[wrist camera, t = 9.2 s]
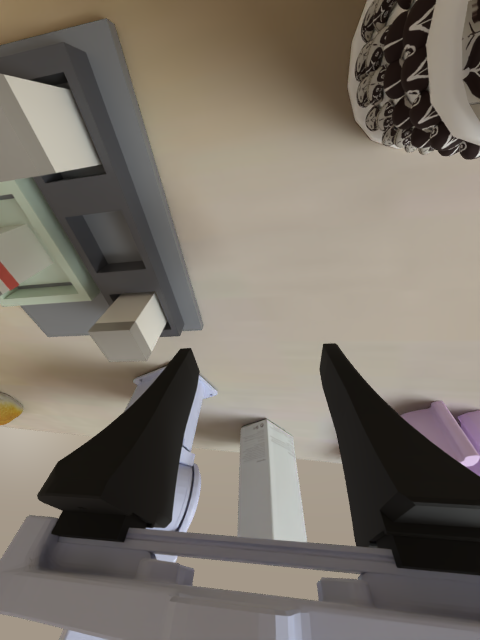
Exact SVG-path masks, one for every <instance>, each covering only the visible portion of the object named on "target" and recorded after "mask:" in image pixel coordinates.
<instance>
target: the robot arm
mask: <svg viewBox="0 0 480 640" xmlns="http://www.w3.org/2000/svg"><path fill="white" fill-rule="evenodd" d="M199 372H200V371H199V368H198V366H197V363H196V360H195V358H194V355H193V352H192V350H191V348H185V349H180V350H179V351H178V353H177V354H176V355H175V356H174V358H173V359H172V360H171V361H170V363H169V364H168V365H167V366H165V367H163V368H160V369H158V370H155V371H153V372H150V373H147V374H145V375H142V376H140V377H137V378H135V379H134V380H133V383H135V384H136V385H137V387H136V389H135V391H134V393H133V395H132V397H131V399H130V401H129V403H128V405H127V407H126V409H125V411H124V413H123V414H121V415H120V416H119V417H118V418H117V419H116V420H114V421H113V422H112V423H111V424H110V425H109V426H107V427H106V428H105V429H104V430H102V431H101V432H100V433H98V434H97V435H96V436H95V437H93V438H92V439H91V440H89V441H88V442H87V443H85V444H84V445H82V446H81V447H79V448H78V449H76V450H75V451H73V452H72V453H71V454H69V455H68V456H66V457H65V458H63V459H62V460H60V461H59V462H58V463H57V464H56V466H55V467H54V469H53V471H52V472H51V474H50V475H49V477H48V479H47V480H46V482H45V483H44V485H43V487H42V488H41V490H40V492H39V493H38V495H37V496H38V499H39V500H40V501H42V502H43V503H46V504H48V505H50V506H53V507H55V508H58V509H60V510H62V511H63V512H62V514H61V515H60V517H59V519H58V518H54V517H44V516H32V515H30V516H28V517H26V519H25V520H24V522H23V524H22V525H21V527H20V529H19V530H18V532H17V533H16V535H15V537H14V538H13V540H12V542H11V543H10V545H9V546H8V548H7V550H6V551H5V553H4V555H3V557H2V558H1V560H0V614H3V615H8V616H13V617H18V618H22V619H26V620H30V621H35V622H39V623H43V624H47V625H51V626H55V627H59V628H63V631H62V633H61V636H60V638H59V640H480V476H478V475H477V474H475V473H474V472H473V471H471V470H470V469H468V468H467V467H465V466H464V465H462V464H461V463H460V462H458V461H457V460H455V459H454V458H452V457H451V456H450V455H448V454H447V453H446V452H444V451H443V450H442V449H440V448H439V447H438V446H436V445H435V444H434V443H432V442H431V441H430V440H429V439H427V438H426V437H425V436H424V435H422V434H421V433H420V432H419V431H418V430H416V429H415V428H414V427H413V426H411V425H410V424H409V423H408V422H407V421H406V420H404V419H403V418H402V417H401V416H400V415H399V414H398V413H397V412H395V411H394V410H393V409H392V408H391V407H390V406H389V405H388V404H387V403H386V402H385V401H384V400H383V399H382V398H381V397H380V396H379V395H378V394H377V393H376V392H375V391H374V390H373V389H372V388H371V386H370V385H369V384H368V383H367V382H366V381H365V380H364V379H363V377H362V376H361V375H360V374H359V373H358V372H357V370H356V369H355V368H354V367H353V365H352V364H351V363H350V362H349V360H348V359H347V358H346V356H345V355H344V354H343V352H342V351H341V350H340V348H339V347H338V345H337V344H336V343H335V344H323V349H322V356H321V363H320V375H321V380H322V386H323V390H324V393H325V397H326V400H327V403H328V407H329V410H330V413H331V417H332V420H333V423H334V427H335V430H336V434H337V439H338V444H339V449H340V454H341V459H342V464H343V469H344V475H345V480H346V486H347V492H348V498H349V504H350V510H351V517H352V522H353V530H354V537H355V542H356V546H344V545H332V544H320V543H309V542H297V541H285V540H273V539H260V538H248V537H236V536H224V535H211V534H200V533H188V532H187V529H188V527H189V525H190V524H191V521H192V519H193V516H194V514H195V511H196V508H197V504H198V500H199V495H200V489H201V488H200V487H201V475H200V472H199V468H198V466H197V464H195V463H193V462H194V457H195V454H193V453H191V449H192V444H193V440H194V436H195V431H196V427H197V422H198V418H199V413H200V409H201V404H202V400H203V399H205V398H209V397H212V396H216V395H217V391H216V390H215V389H214V388H213V387H212V386H211V385H210V384H209V383H208V382H207V381H206V380H204V379H203V378H202V377H201V376H200V375H199ZM177 556H182V557H193V558H202V559H212V560H222V561H232V562H243V563H253V564H264V565H273V566H283V567H294V568H303V569H313V570H324V571H334V572H344V573H354V574H361V575H360V576H359V577H358V580H357V579H343V578H321V580H320V581H318V583H317V588H318V596H319V601H314V600H307V599H298V598H290V597H282V596H273V595H266V594H257V593H248V592H240V591H232V590H223V589H214V588H206V587H197V586H192V582H193V576H194V569H193V568H190V567H186V566H182V565H180V564H179V563H175V561H176V560H177Z"/></svg>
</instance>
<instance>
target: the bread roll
mask: <svg viewBox="0 0 480 640" xmlns="http://www.w3.org/2000/svg"><path fill="white" fill-rule="evenodd" d="M22 411H23V406H22V405H21V404H20V403H19V402H18V401H16V400H15V399H14V398H12V397H11V396H9V395H7V394H4V393H2V392H0V425H4V424H7V423H9V422H10V421H12V420H13V419H14V418H16V417H18V416H19V415H20V414H21V413H22Z"/></svg>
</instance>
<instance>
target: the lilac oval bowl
mask: <svg viewBox="0 0 480 640" xmlns="http://www.w3.org/2000/svg"><path fill="white" fill-rule="evenodd" d="M400 416H401V417H402V418H403V419H404V420H406V421H407V422H408V423H409V424H410V425H411V426H413V427H414V428H415V429H416V430H418V431H419V432H420V433H421V434H422V435H424V436H425V437H426V438H427V439H429V440H430V441H431V442H432V443H434V444H435V445H436V446H438V447H439V448H440V449H442V450H443V451H444V452H446V453H447V454H448V455H450V456H451V457H452V458H454V459H455V460H457V461H458V462H460V463H461V464H462V465H464V466H465V467H467V468H468V469H470V470H471V471H473V472H474V473H475V474H477V475H478V476H480V410H478V411H473V412H469V413H465V414H463V415H460V416H458V419H459V421H460V422H461V427H460V426H459V424H458V423H457V422H456V420H455V419H454V417H453V416H452V414H451V413H450V411H449V410H448V408H447V407H446V405H445V404H444V402H443V401H435V402H432V403H431V407H430V408H428V409H422V410H416V411H412V412H408V413H405V414H402V415H400Z"/></svg>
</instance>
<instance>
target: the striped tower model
mask: <svg viewBox="0 0 480 640" xmlns="http://www.w3.org/2000/svg"><path fill="white" fill-rule="evenodd" d="M347 88H348V92H349V97H350V101H351V105H352V110H353V114H354V118H355V121H356V122H357V123H358V124H359V126H360V127H361V128H362V129H363V131H364V132H365V133H366V134H367V135H368V137H369V138H370V139H371V140H372V141H375V142H378V143H381V144H383V145H385V146H390V147H393V148H396V149H399V148H405V151H406V152H413V151H415V150H416V149H417V148H418V149H419V152H420V154H422V155H424V154H428V153H430V152H432V151H433V150H434V149H435V150H438V152H439V153H440V154H441V155H442V156H450V155H453V154H455V153H457V152H459V151H460V154H461V156H462V157H463V158H464V159H475V158H478V157H480V0H367V1H366V4H365V7H364V10H363V12H362V15H361V18H360V21H359V23H358V26H357V29H356V32H355V35H354V37H353V40H352V44H351V54H350V64H349V74H348V85H347Z"/></svg>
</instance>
